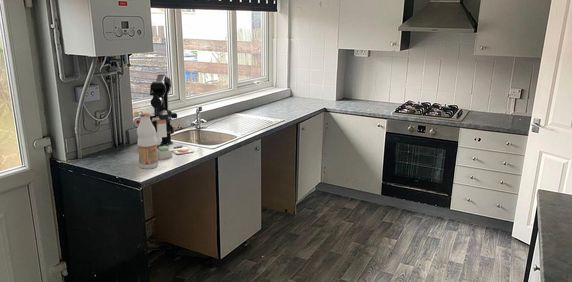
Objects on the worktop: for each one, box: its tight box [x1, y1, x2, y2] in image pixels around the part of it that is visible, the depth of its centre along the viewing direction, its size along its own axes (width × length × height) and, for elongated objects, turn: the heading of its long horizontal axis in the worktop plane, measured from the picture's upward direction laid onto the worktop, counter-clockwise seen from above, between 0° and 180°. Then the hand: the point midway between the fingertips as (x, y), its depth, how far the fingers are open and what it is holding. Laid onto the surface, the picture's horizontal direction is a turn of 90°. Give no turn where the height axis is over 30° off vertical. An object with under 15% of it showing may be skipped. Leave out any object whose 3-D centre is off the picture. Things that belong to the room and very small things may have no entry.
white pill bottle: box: [155, 118, 167, 139], centre depth 245 cm, size 5×5×10 cm
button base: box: [157, 148, 173, 160], centre depth 240 cm, size 7×7×4 cm
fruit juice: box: [136, 112, 159, 170], centre depth 221 cm, size 9×9×28 cm
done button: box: [157, 145, 170, 152], centre depth 240 cm, size 4×4×2 cm
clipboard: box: [169, 145, 195, 156], centre depth 252 cm, size 12×10×2 cm
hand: (160, 131), depth 246 cm, fingers closed on white pill bottle, 5 cm apart
